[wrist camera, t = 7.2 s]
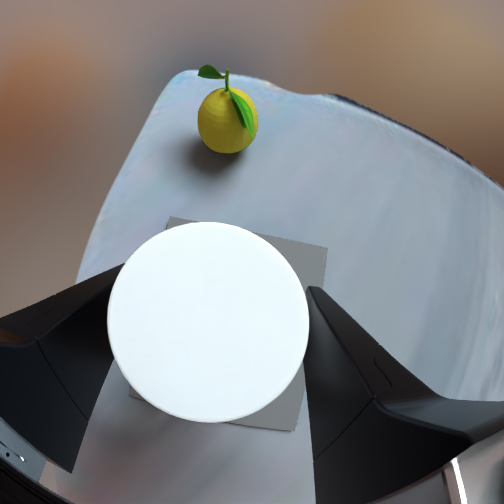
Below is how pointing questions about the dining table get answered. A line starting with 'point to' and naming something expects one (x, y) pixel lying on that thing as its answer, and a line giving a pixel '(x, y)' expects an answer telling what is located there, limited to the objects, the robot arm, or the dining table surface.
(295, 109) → the dining table surface
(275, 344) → the pill bottle
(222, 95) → the lemon
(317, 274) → the mat
